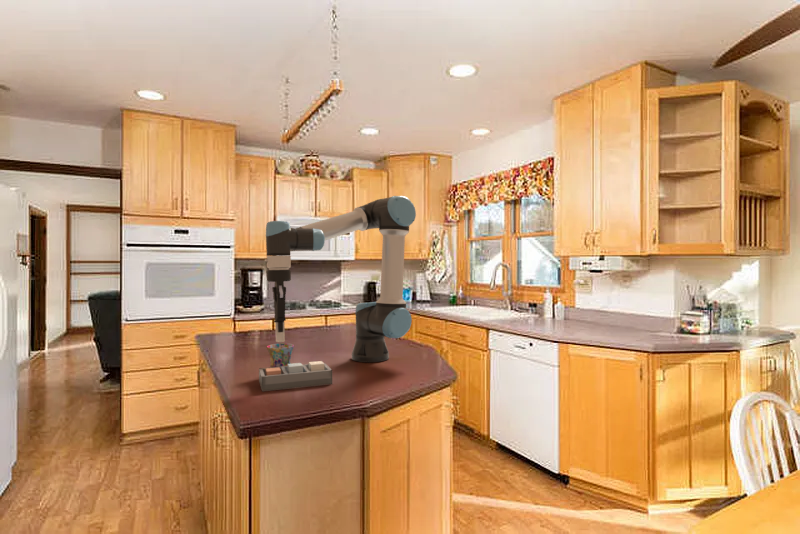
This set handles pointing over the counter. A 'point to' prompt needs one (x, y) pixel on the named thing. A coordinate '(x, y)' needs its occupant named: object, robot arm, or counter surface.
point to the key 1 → (273, 371)
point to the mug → (280, 354)
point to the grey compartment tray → (294, 378)
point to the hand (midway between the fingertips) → (280, 341)
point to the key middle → (295, 368)
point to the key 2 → (316, 366)
